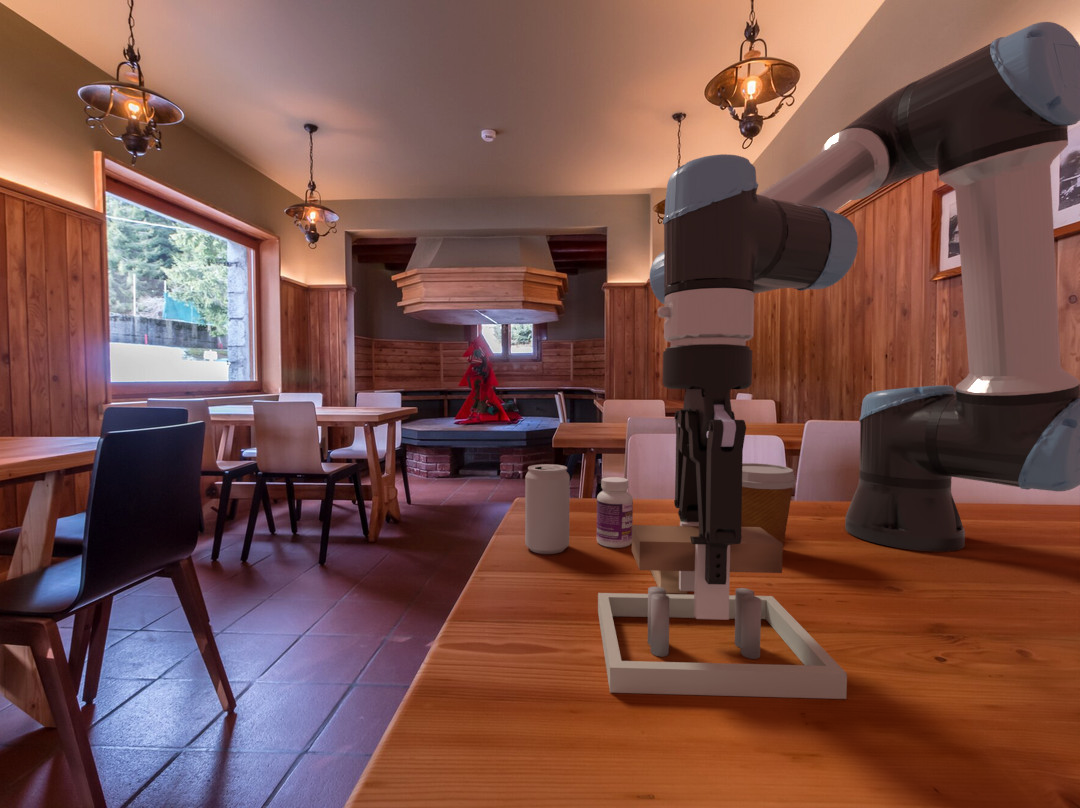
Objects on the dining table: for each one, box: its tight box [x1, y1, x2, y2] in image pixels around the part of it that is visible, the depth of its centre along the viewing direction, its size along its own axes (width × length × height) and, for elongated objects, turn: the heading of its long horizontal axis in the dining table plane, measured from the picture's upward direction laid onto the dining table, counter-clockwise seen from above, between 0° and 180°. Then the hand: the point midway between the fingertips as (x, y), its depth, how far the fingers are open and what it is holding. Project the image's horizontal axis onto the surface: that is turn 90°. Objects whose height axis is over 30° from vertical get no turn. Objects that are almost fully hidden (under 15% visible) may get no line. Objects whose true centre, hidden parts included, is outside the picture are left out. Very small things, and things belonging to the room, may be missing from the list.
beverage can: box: [524, 463, 571, 555], centre depth 74 cm, size 6×6×12 cm
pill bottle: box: [596, 476, 634, 549], centre depth 76 cm, size 5×5×10 cm
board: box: [631, 524, 784, 574], centre depth 46 cm, size 12×5×2 cm, turn 87°
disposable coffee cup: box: [741, 462, 798, 546], centre depth 72 cm, size 10×10×12 cm
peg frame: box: [597, 585, 848, 700], centre depth 46 cm, size 18×14×5 cm
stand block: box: [649, 570, 688, 595], centre depth 62 cm, size 3×8×5 cm, turn 177°
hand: (702, 602), depth 46 cm, fingers closed on board, 5 cm apart
